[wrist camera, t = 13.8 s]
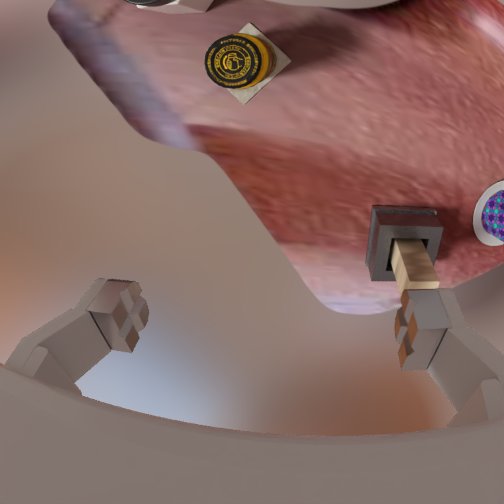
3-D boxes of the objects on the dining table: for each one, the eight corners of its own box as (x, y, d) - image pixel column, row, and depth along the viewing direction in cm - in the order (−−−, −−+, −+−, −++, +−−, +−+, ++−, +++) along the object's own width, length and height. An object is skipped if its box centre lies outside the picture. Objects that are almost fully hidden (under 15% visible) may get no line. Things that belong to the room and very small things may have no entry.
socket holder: (434, 208, 41) (445, 225, 37) (422, 262, 47) (430, 282, 43) (371, 205, 43) (377, 223, 39) (365, 262, 49) (369, 282, 45)
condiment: (292, 60, 34) (286, 62, 24) (244, 104, 38) (220, 124, 28) (249, 22, 31) (226, 10, 22) (203, 68, 36) (165, 76, 26)
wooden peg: (415, 228, 42) (439, 281, 33) (411, 250, 45) (431, 305, 35) (390, 227, 43) (409, 281, 34) (387, 250, 45) (402, 306, 36)
